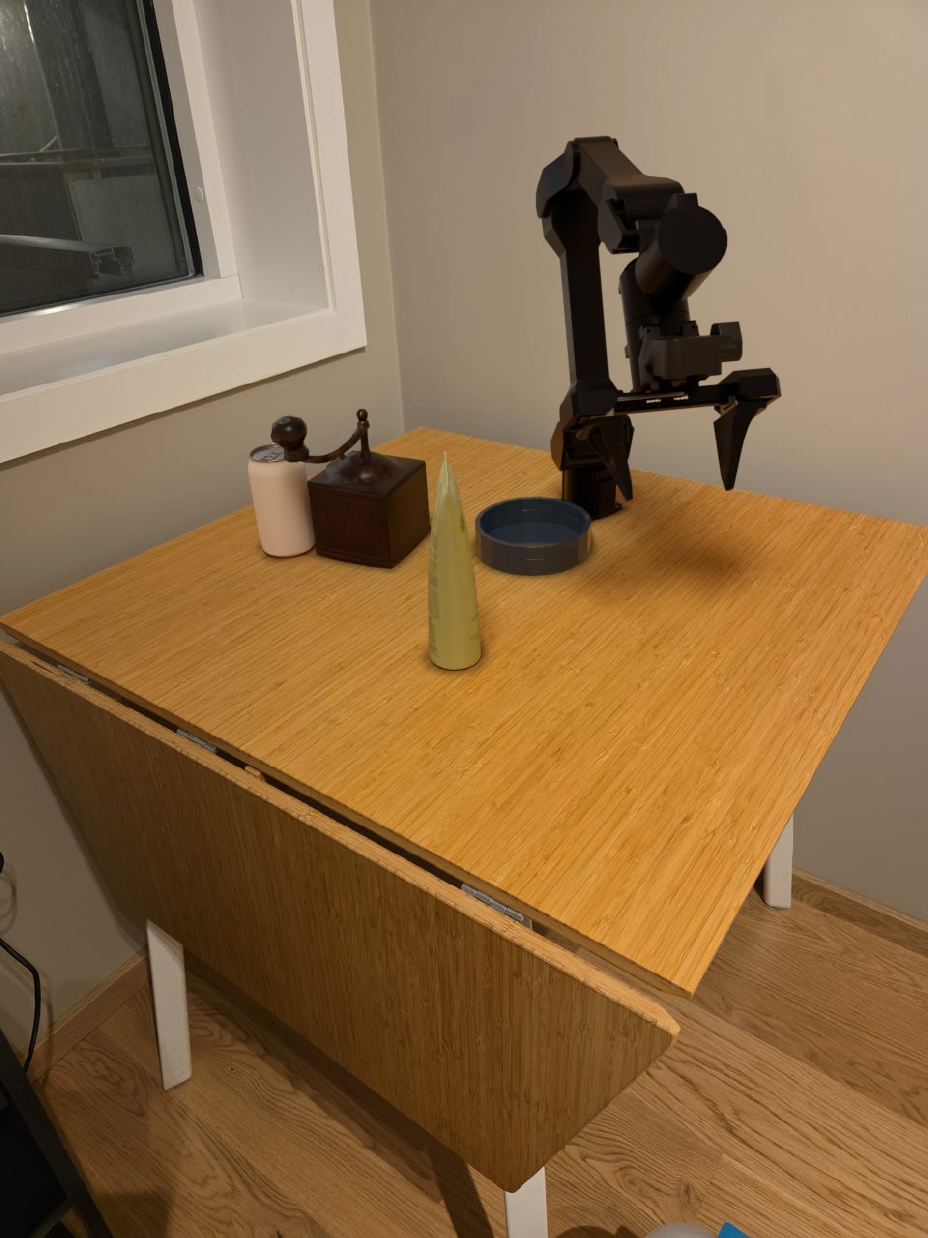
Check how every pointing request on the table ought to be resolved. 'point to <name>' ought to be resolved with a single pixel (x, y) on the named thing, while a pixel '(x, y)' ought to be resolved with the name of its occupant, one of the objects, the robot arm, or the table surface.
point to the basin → (533, 535)
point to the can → (281, 502)
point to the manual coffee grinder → (361, 497)
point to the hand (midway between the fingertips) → (679, 495)
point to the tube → (451, 581)
